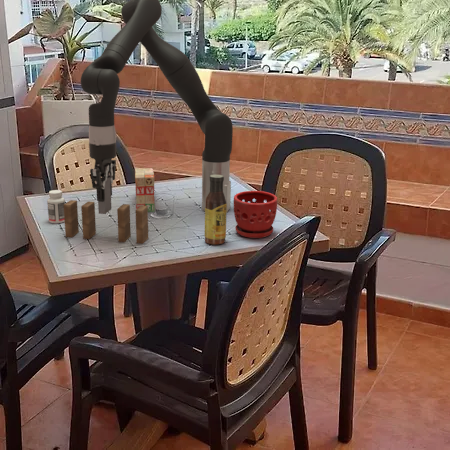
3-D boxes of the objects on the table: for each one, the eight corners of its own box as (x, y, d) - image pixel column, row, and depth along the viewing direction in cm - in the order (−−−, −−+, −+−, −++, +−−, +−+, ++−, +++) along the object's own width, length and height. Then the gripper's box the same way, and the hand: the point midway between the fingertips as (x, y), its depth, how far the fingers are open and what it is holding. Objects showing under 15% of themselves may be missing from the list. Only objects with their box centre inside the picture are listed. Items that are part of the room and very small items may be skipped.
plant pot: (224, 232, 200) (224, 194, 196) (257, 224, 208) (258, 188, 204) (251, 244, 190) (252, 204, 186) (284, 235, 198) (286, 197, 194)
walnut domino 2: (96, 233, 197) (94, 201, 194) (89, 239, 192) (87, 206, 189) (89, 233, 197) (88, 201, 194) (83, 238, 193) (81, 206, 190)
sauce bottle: (218, 247, 187) (219, 179, 181) (200, 243, 190) (200, 176, 184) (230, 240, 193) (231, 175, 186) (212, 236, 196) (213, 172, 190)
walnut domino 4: (148, 238, 194) (147, 205, 191) (143, 243, 189) (142, 210, 186) (141, 237, 194) (141, 205, 191) (136, 243, 190) (135, 210, 186)
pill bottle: (65, 218, 211) (63, 188, 208) (67, 222, 206) (65, 193, 203) (47, 219, 209) (45, 190, 206) (49, 224, 205) (47, 194, 202)
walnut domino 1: (78, 232, 198) (76, 200, 195) (72, 237, 193) (69, 205, 190) (72, 231, 198) (70, 200, 195) (65, 237, 194) (63, 204, 191)
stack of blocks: (135, 195, 238) (134, 162, 235) (153, 195, 239) (152, 162, 235) (136, 212, 218) (135, 176, 214) (155, 212, 219) (154, 176, 215)
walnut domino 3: (130, 236, 195) (129, 204, 192) (124, 242, 190) (123, 209, 187) (124, 236, 195) (123, 204, 192) (118, 241, 191) (117, 208, 187)
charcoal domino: (98, 213, 189) (97, 180, 186) (105, 208, 194) (103, 176, 191) (105, 214, 189) (103, 180, 186) (111, 209, 194) (110, 176, 190)
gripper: (99, 135, 192) (101, 191, 198) (79, 144, 179) (82, 204, 184) (123, 137, 191) (125, 193, 196) (105, 146, 178) (107, 206, 183)
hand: (104, 198), depth 190 cm, fingers closed on charcoal domino, 5 cm apart
